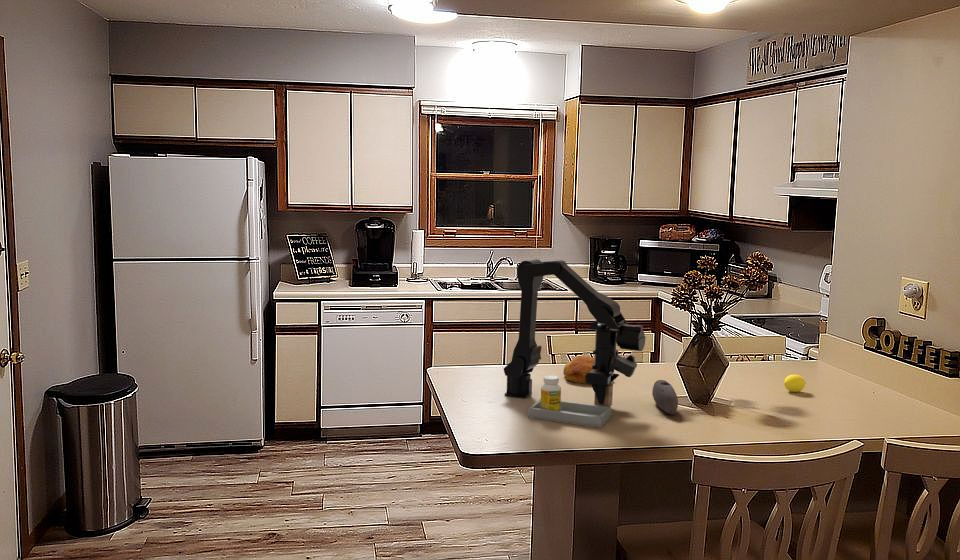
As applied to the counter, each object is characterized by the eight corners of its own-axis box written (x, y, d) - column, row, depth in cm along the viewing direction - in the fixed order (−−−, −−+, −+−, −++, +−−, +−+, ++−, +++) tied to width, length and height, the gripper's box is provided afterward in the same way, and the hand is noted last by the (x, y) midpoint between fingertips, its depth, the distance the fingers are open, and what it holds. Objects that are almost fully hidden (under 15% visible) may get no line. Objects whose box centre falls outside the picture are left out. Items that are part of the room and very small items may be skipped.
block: (594, 406, 220) (595, 385, 219) (597, 403, 223) (598, 382, 223) (608, 408, 218) (609, 387, 217) (612, 404, 222) (612, 383, 221)
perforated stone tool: (682, 418, 214) (683, 393, 213) (662, 418, 214) (664, 392, 213) (668, 402, 229) (670, 378, 228) (650, 402, 229) (651, 378, 228)
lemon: (788, 394, 239) (789, 377, 239) (779, 389, 245) (780, 372, 244) (809, 394, 240) (811, 376, 240) (800, 389, 246) (801, 372, 245)
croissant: (576, 377, 264) (574, 353, 264) (619, 379, 254) (617, 354, 254) (553, 385, 252) (551, 359, 252) (597, 386, 243) (595, 360, 243)
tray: (528, 417, 212) (528, 408, 211) (541, 407, 221) (541, 398, 221) (600, 427, 204) (601, 418, 204) (611, 416, 214) (611, 407, 213)
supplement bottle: (552, 408, 218) (553, 373, 217) (564, 413, 214) (565, 378, 213) (536, 411, 215) (537, 376, 214) (548, 416, 211) (549, 380, 210)
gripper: (627, 356, 207) (624, 415, 209) (642, 343, 224) (639, 397, 226) (585, 352, 211) (583, 409, 213) (603, 339, 228) (600, 392, 230)
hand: (603, 402), depth 221 cm, fingers closed on block, 4 cm apart
